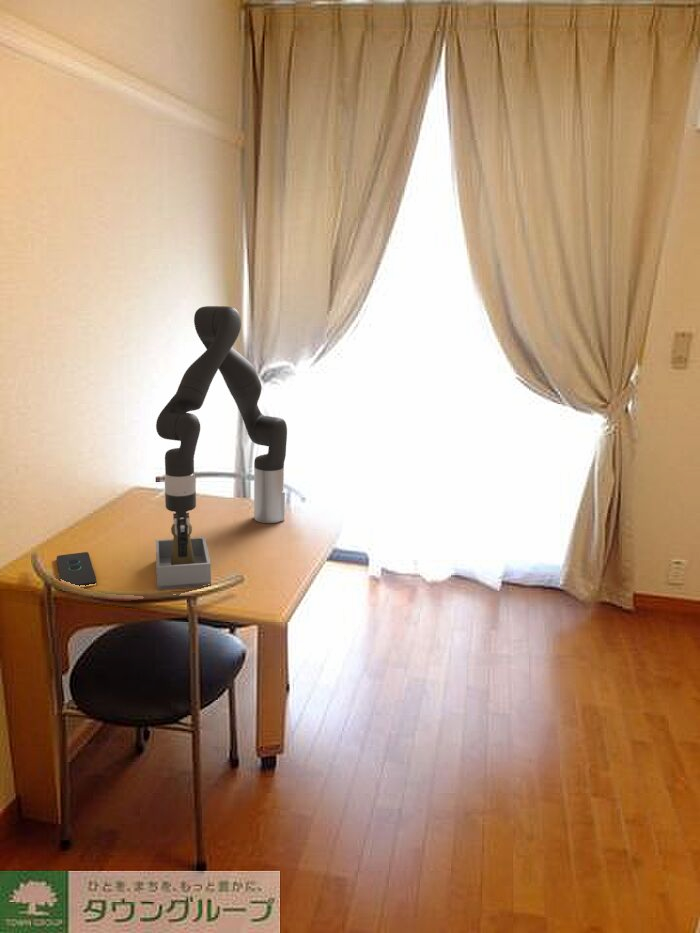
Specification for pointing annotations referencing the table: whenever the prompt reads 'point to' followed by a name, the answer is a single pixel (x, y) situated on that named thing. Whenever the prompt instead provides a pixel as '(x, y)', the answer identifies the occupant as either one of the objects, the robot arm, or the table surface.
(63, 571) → the smart home device
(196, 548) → the box
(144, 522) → the table surface
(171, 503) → the robot arm
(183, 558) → the olive pawn
